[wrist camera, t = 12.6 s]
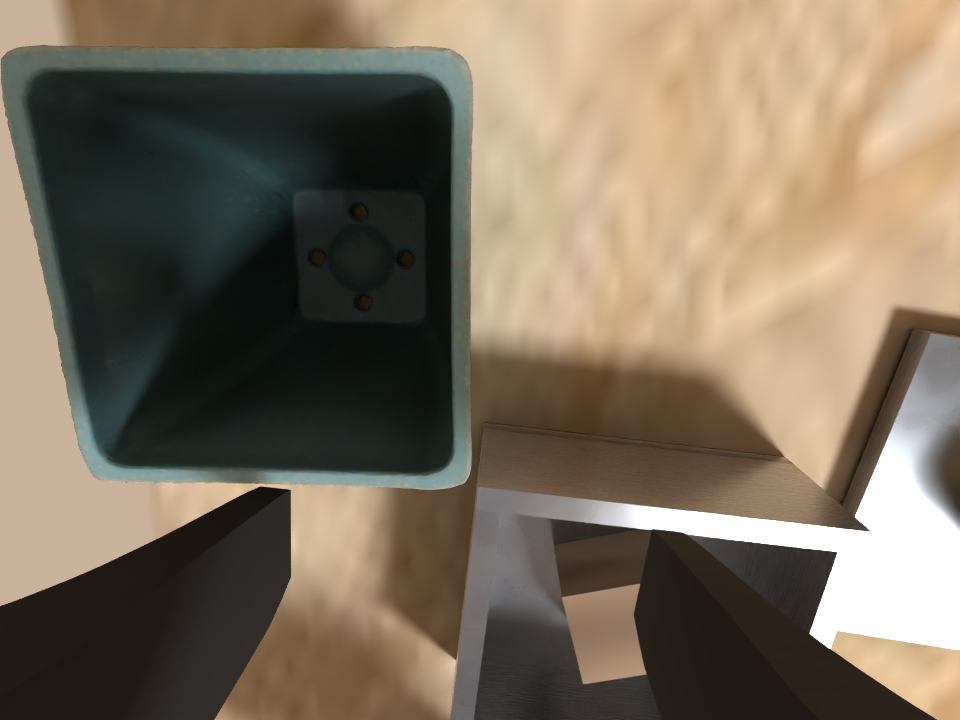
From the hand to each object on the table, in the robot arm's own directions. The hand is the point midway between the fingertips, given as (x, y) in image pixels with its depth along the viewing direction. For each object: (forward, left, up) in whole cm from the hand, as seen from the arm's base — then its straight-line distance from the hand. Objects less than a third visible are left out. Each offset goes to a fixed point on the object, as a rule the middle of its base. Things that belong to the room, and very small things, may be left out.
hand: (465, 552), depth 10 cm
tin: (-7, -6, -10) cm, 14 cm away
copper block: (-7, -6, -10) cm, 14 cm away
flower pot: (+5, +5, -11) cm, 12 cm away
